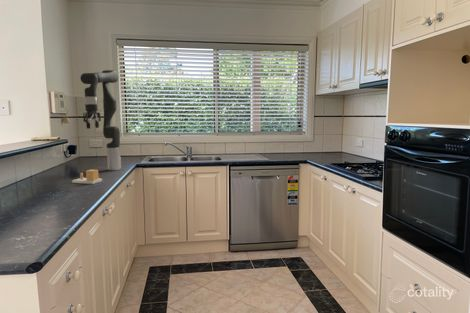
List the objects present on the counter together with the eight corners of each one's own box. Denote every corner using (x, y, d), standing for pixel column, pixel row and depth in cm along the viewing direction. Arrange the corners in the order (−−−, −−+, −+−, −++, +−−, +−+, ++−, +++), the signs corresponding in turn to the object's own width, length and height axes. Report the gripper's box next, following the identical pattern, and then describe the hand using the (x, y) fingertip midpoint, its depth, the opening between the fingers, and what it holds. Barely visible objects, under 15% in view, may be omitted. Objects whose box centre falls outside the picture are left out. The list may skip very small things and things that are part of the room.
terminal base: (82, 179, 209) (81, 171, 209) (102, 180, 206) (101, 172, 205) (72, 182, 201) (71, 174, 200) (92, 183, 197) (92, 175, 196)
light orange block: (91, 178, 205) (91, 169, 204) (98, 179, 204) (98, 169, 203) (86, 180, 200) (85, 170, 199) (93, 180, 199) (92, 171, 198)
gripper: (93, 104, 222) (95, 127, 224) (78, 103, 208) (80, 128, 210) (102, 103, 220) (104, 127, 222) (88, 103, 206) (90, 128, 208)
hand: (92, 128), depth 216 cm, fingers open, 8 cm apart
